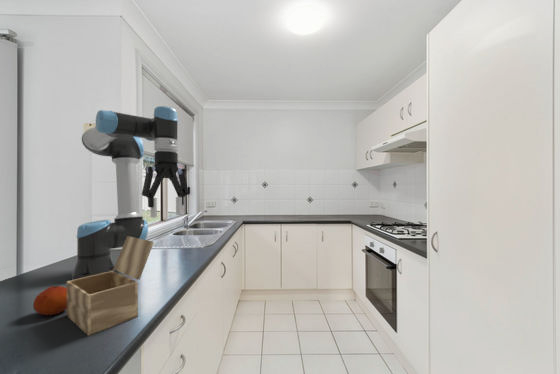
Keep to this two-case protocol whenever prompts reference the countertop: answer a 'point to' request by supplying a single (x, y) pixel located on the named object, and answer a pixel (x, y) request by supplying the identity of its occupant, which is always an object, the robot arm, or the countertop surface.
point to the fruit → (51, 301)
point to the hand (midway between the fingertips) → (166, 215)
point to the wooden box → (101, 301)
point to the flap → (133, 257)
